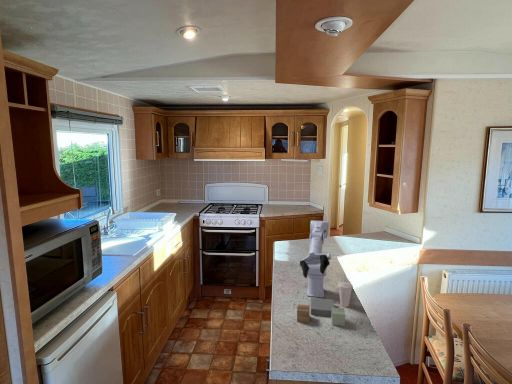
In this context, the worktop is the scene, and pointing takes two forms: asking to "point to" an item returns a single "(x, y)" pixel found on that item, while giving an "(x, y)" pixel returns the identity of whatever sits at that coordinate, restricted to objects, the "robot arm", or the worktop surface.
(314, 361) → the worktop surface
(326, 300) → the charcoal slab
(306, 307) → the walnut cube
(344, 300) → the smoothie
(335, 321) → the sage block
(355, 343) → the worktop surface
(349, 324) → the worktop surface
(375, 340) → the worktop surface
